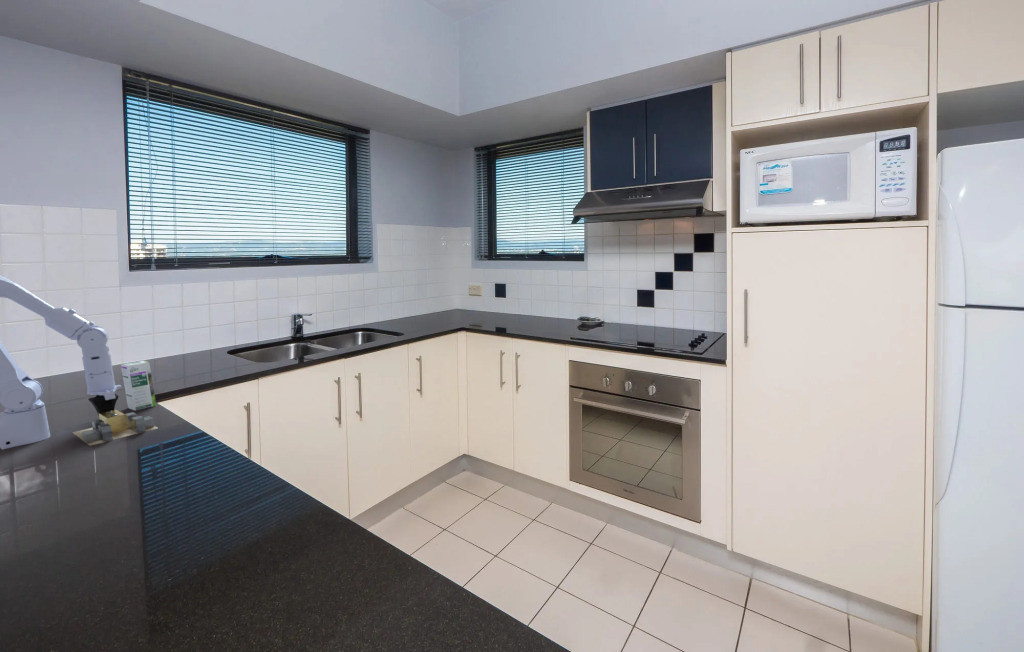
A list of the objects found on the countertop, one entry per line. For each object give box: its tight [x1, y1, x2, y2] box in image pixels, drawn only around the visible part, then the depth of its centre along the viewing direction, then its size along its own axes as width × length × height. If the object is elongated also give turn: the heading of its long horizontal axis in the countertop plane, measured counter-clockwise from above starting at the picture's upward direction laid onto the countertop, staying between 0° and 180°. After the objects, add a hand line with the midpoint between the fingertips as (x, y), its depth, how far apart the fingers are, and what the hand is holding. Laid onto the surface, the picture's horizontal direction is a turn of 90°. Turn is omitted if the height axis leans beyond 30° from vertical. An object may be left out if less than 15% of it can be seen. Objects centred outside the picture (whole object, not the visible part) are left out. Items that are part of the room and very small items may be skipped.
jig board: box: [71, 425, 158, 446], centre depth 129 cm, size 14×18×1 cm
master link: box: [98, 409, 127, 434], centre depth 129 cm, size 4×8×4 cm, turn 52°
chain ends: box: [82, 411, 155, 444], centre depth 126 cm, size 14×9×4 cm, turn 141°
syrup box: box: [120, 360, 157, 411], centre depth 150 cm, size 6×6×14 cm
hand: (107, 422), depth 133 cm, fingers closed
